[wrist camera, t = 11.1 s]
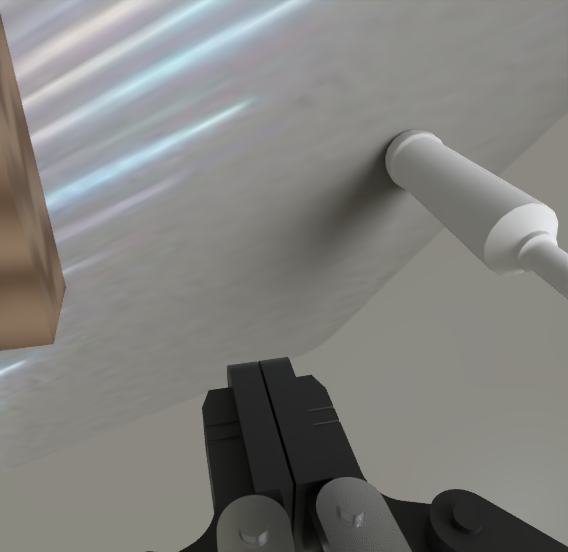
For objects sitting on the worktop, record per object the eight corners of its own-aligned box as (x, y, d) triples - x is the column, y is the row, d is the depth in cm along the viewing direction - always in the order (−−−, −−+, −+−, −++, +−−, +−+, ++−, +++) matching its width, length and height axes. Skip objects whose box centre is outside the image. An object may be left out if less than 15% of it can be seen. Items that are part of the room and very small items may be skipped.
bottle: (385, 128, 45) (596, 282, 24) (440, 125, 46) (688, 268, 25) (379, 185, 47) (564, 366, 27) (431, 180, 48) (648, 351, 28)
